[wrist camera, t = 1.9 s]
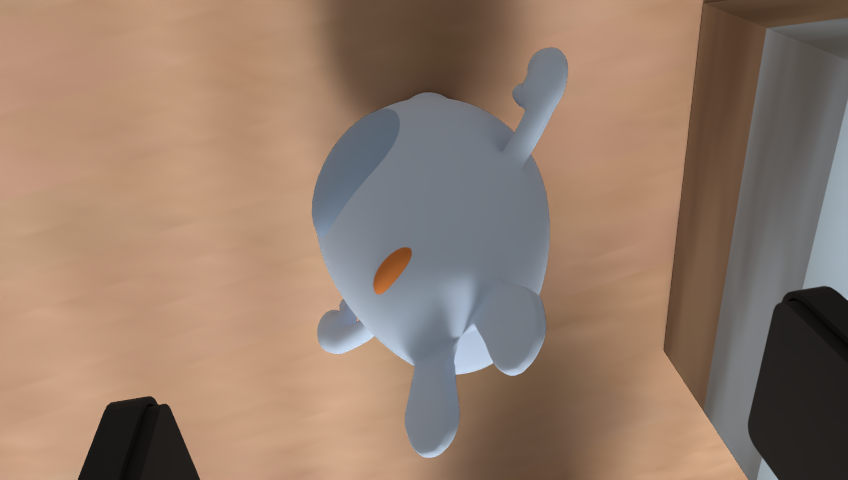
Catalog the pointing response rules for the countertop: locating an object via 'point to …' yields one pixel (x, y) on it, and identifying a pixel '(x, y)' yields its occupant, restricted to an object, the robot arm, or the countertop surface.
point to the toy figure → (440, 241)
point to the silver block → (757, 196)
